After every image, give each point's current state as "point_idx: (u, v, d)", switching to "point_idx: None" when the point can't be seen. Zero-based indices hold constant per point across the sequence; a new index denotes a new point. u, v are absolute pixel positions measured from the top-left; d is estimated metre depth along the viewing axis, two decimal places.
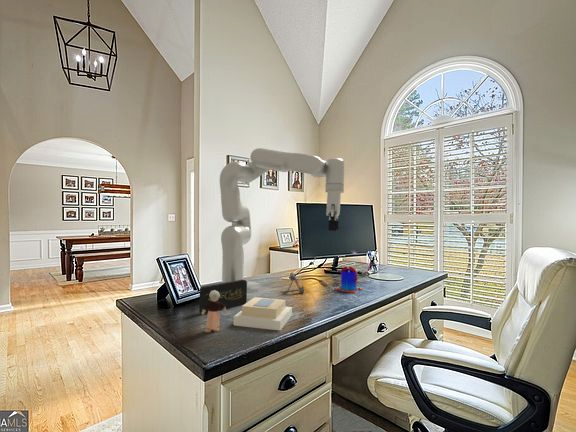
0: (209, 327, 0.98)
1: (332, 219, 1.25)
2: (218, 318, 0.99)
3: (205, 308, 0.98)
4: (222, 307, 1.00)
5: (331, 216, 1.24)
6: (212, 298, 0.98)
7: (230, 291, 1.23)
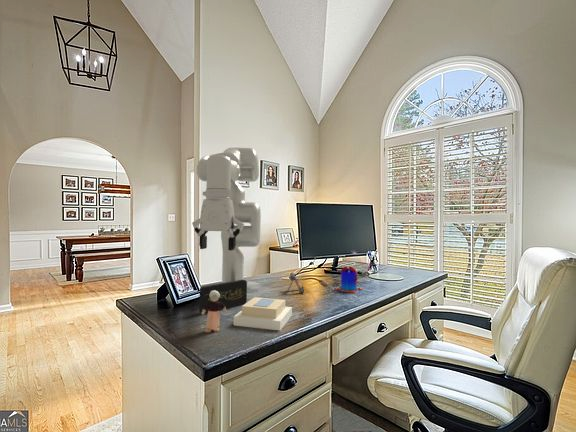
0: (209, 327, 0.98)
1: (235, 236, 0.98)
2: (218, 318, 0.99)
3: (205, 308, 0.98)
4: (222, 307, 1.00)
5: (238, 232, 0.97)
6: (212, 298, 0.98)
7: (230, 291, 1.23)
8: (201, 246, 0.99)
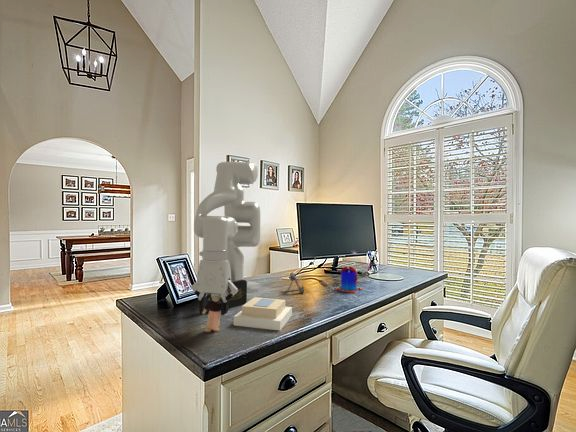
0: (210, 327, 0.98)
1: (228, 300, 0.98)
2: (219, 318, 0.99)
3: (206, 308, 0.98)
4: None
5: (231, 297, 0.97)
6: (214, 298, 0.97)
7: (230, 291, 1.23)
8: (201, 310, 0.98)
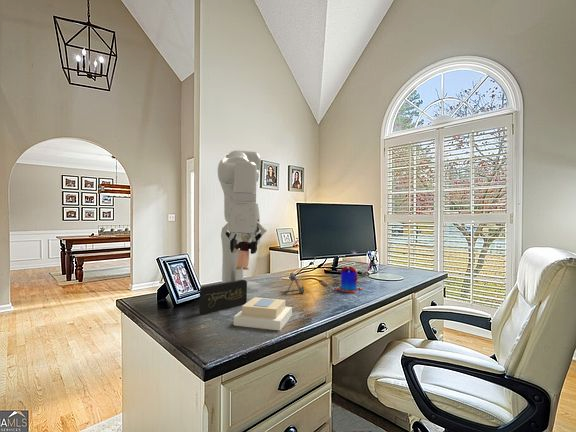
0: (240, 265, 1.04)
1: (257, 240, 1.04)
2: (248, 258, 1.05)
3: (236, 247, 1.04)
4: None
5: (259, 237, 1.03)
6: (243, 238, 1.03)
7: (230, 291, 1.23)
8: (232, 250, 1.04)
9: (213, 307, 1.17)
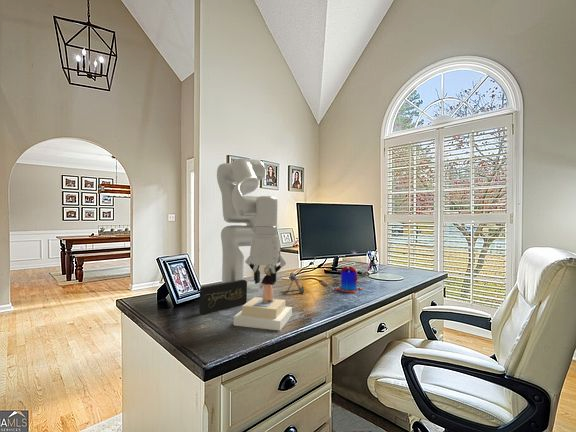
0: (267, 298, 1.10)
1: None
2: None
3: (264, 282, 1.09)
4: None
5: (279, 268, 1.08)
6: (269, 272, 1.10)
7: (230, 291, 1.23)
8: (256, 281, 1.09)
9: (213, 307, 1.17)
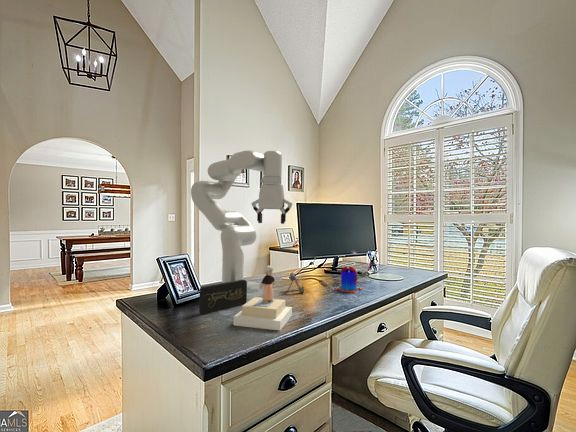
0: (267, 298, 1.10)
1: None
2: None
3: (264, 282, 1.09)
4: (273, 280, 1.13)
5: (288, 210, 1.27)
6: (269, 272, 1.10)
7: (230, 291, 1.23)
8: (259, 221, 1.29)
9: (213, 307, 1.17)
